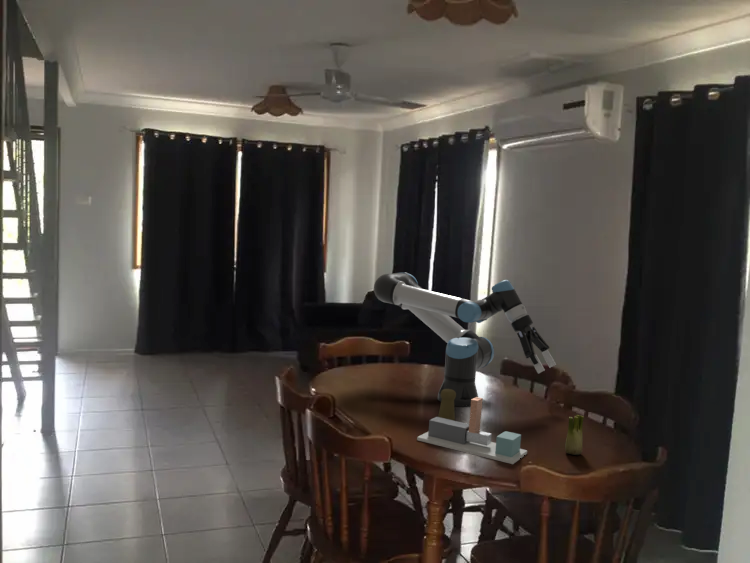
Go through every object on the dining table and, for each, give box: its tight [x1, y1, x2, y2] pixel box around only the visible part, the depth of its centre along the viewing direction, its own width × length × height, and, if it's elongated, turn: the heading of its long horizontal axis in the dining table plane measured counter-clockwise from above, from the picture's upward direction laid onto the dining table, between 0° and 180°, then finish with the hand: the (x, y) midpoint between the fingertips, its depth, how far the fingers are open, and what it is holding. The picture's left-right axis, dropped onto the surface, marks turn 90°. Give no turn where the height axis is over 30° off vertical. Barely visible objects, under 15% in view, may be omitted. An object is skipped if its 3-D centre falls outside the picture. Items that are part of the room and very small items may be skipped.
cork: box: [437, 389, 456, 421], centre depth 243 cm, size 6×6×11 cm
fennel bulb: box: [564, 414, 585, 456], centre depth 218 cm, size 6×5×12 cm
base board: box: [416, 430, 528, 465], centre depth 218 cm, size 31×12×1 cm, turn 59°
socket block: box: [495, 430, 522, 457], centre depth 212 cm, size 5×7×5 cm
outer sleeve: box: [427, 416, 469, 444], centre depth 222 cm, size 12×5×5 cm, turn 59°
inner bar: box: [465, 396, 492, 446], centre depth 219 cm, size 16×4×13 cm, turn 59°
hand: (547, 369), depth 266 cm, fingers open, 13 cm apart
